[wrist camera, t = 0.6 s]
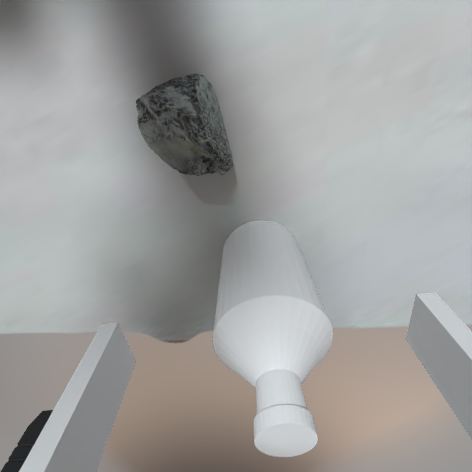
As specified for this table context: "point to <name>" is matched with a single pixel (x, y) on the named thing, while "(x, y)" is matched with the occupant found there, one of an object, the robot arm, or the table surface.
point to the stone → (185, 126)
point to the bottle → (271, 331)
